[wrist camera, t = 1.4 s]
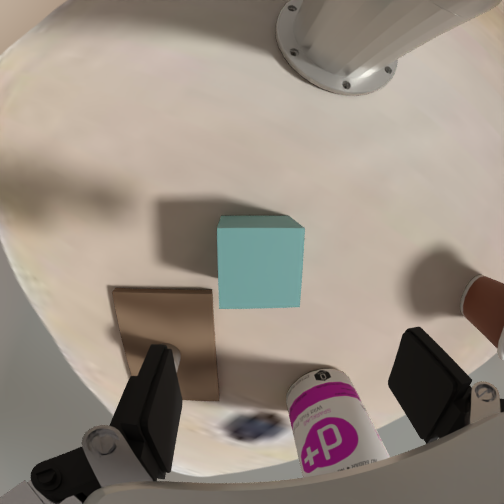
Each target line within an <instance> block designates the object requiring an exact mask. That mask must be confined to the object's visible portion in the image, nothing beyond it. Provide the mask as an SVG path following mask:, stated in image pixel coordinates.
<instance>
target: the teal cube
mask: <svg viewBox="0 0 504 504" xmlns="http://www.w3.org/2000/svg"><path fill="white" fill-rule="evenodd" d="M304 235H305V228H304V227H303V226H301V225H300V224H299V223H298V222H296V221H295V220H294V219H292V218H291V217H290V216H221V218H220V221H219V224H218V227H217V252H218V286H219V309H250V308H287V307H300V296H301V283H302V269H303V253H304Z"/></svg>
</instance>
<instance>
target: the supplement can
mask: <svg viewBox="0 0 504 504" xmlns="http://www.w3.org/2000/svg"><path fill="white" fill-rule="evenodd" d="M286 404H287V408H288V413H289V417H290V422H291V426H292V430H293V435H294V439H295V444H296V448H297V453H298V457H299V462H300V466H301V471H302V475H303V478H304V477H311V476H317V475H323V474H328V473H333V472H338V471H342V470H347V469H351V468H355V467H359V466H363V465H367V464H370V463H374V462H377V461H380V460H384V459H387V458H390V457H389V454H388V452H387V451H386V448H385V446H384V444H383V442H382V440H381V438H380V436H379V434H378V432H377V430H376V428H375V426H374V424H373V422H372V420H371V418H370V417H369V415H368V413H367V411H366V409H365V407H364V405H363V403H362V401H361V399H360V397H359V395H358V393H357V391H356V390H355V388H354V386H353V384H352V382H351V380H350V378H349V377H348V376H347V375H346V374H345V373H344V372H343V371H339V370H336V369H320V370H316V371H312V372H309V373H308V374H306V375H304V376H302V377H301V378H299V379H298V380H297V381H296V382H295V383H294V384H293V385H292V386H291V387H290V389H289V391H288V393H287V395H286Z"/></svg>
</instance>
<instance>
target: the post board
mask: <svg viewBox="0 0 504 504" xmlns="http://www.w3.org/2000/svg"><path fill="white" fill-rule="evenodd" d="M112 294H113V300H114V305H115V310H116V315H117V320H118V325H119V329H120V333H121V338H122V342H123V346H124V350H125V354H126V358H127V361H128V365H129V368H130V372H131V375H132V376H138V373H139V371H140V368H141V366H142V364H143V361H144V359H145V357H146V354H147V352H148V350H149V347H150V345H151V344H161V345H166V346H167V349H172V352H173V357H174V363H175V367H176V372H177V377H178V382H179V386H180V391H181V395H182V400H195V401H219V386H218V374H217V361H216V347H215V332H214V315H213V295H212V290H181V289H131V288H115V289H114V290H113V291H112Z"/></svg>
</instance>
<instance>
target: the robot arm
mask: <svg viewBox="0 0 504 504" xmlns="http://www.w3.org/2000/svg"><path fill="white" fill-rule="evenodd" d="M501 1H502V0H290V1H289V2H288V3H286V4H285V6H284V7H283V8H282V10H281V11H280V14H279V16H278V19H277V23H276V39H277V43H278V46H279V48H280V50H281V52H282V54H283V56H284V58H285V59H286V60H287V62H288V63H289V64H290V66H291V67H292V68H294V69H295V70H296V71H297V72H298V73H299V74H300V75H301V76H302V77H304V78H305V79H307V80H308V81H309V82H311V83H313V84H315V85H316V86H318V87H320V88H322V89H325V90H328V91H330V92H333V93H337V94H342V95H351V96H359V95H365V94H369V93H372V92H374V91H377V90H379V89H380V88H382V87H384V86H385V85H386V84H387V83H388V82H389V81H390V80H391V79H392V77H393V76H394V74H395V71H396V68H397V63H398V59H399V58H400V57H402V56H404V55H405V54H407V53H409V52H411V51H412V50H414V49H416V48H418V47H419V46H421V45H423V44H425V43H426V42H428V41H430V40H432V39H434V38H436V37H437V36H439V35H441V34H443V33H445V32H447V31H449V30H451V29H453V28H455V27H457V26H459V25H461V24H463V23H465V22H467V21H469V20H471V19H473V18H475V17H477V16H479V15H481V14H483V13H485V12H488V11H490V10H491V9H493V8H495V7H496V6H497V5H498V4H499V3H500V2H501ZM291 54H294V55H295V56H293V55H291ZM342 85H343V86H344V87H345V88H344V87H343V86H342ZM471 382H472V379H471V378H470V377H469V376H468V375H467V374H466V373H465V372H464V371H463V370H462V369H461V368H460V367H459V366H458V364H457V363H456V362H455V361H454V360H453V359H452V358H451V357H450V356H449V355H448V354H447V353H446V352H445V351H444V350H443V349H442V348H441V347H440V346H439V345H438V344H437V343H436V342H435V341H434V340H433V339H432V338H431V337H430V336H429V335H428V334H427V333H426V332H425V331H424V330H423V329H422V328H420V327H414V328H409V329H407V330H406V331H405V333H404V334H403V335H402V339H401V342H400V346H399V349H398V352H397V355H396V359H395V362H394V365H393V368H392V371H391V374H390V377H389V380H388V385H389V388H390V389H391V391H392V393H393V394H394V396H395V397H396V399H397V401H398V402H399V404H400V405H401V407H402V409H403V410H404V412H405V414H406V415H407V417H408V418H409V420H410V422H411V423H412V425H413V427H414V428H415V430H416V432H417V433H418V435H419V437H420V438H421V439H424V441H425V442H426V445H423V446H421V447H418V448H415V449H413V450H410V451H408V452H405V453H402V454H399V455H396V456H393V457H390V458H387V459H384V460H380V461H377V462H374V463H370V464H367V465H363V466H359V467H355V468H351V469H347V470H342V471H338V472H333V473H328V474H323V475H317V476H311V477H304V478H297V479H290V480H281V481H270V482H254V483H191V482H169V481H157V478H158V479H165V475H166V472H167V473H169V472H171V467H172V461H173V455H174V449H175V443H176V437H177V432H178V426H179V421H180V415H181V410H182V395H181V391H180V386H179V382H178V377H177V372H176V367H175V363H174V357H173V352H172V349H167V346H166V345H161V344H151V345H150V347H149V350H148V352H147V354H146V357H145V359H144V361H143V364H142V366H141V368H140V371H139V373H138V376H131V377H130V379H129V381H128V383H127V385H126V388H125V390H124V392H123V394H122V397H121V399H120V402H119V404H118V406H117V409H116V411H115V413H114V416H113V418H112V421H111V423H110V426H108V425H99V426H95V427H93V428H91V429H89V430H88V431H87V432H86V433H85V434H84V436H83V438H82V447H80V448H77V449H75V450H72V451H70V452H67V453H65V454H62V455H59V456H57V457H54V458H52V459H49V460H46V461H43V462H41V463H39V464H37V465H36V466H35V467H34V468H33V470H32V472H31V480H30V481H29V482H26V481H25V480H24V481H23V482H21V483H20V484H19V485H17V486H16V487H14V488H13V489H11V490H10V491H9V492H7V493H6V494H4V495H3V496H1V497H0V504H504V399H500V397H499V392H498V390H497V388H496V387H495V386H494V385H492V384H490V383H488V382H482V381H481V382H477V383H475V384H474V385H473V387H472V388H471V386H470V384H471ZM438 437H439V439H438Z"/></svg>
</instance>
